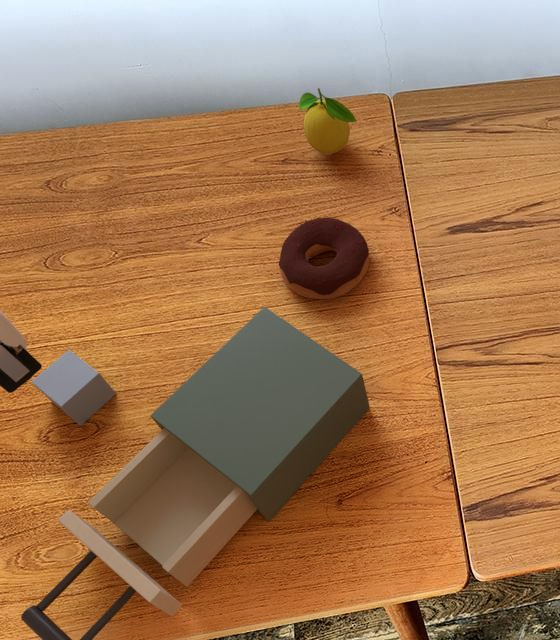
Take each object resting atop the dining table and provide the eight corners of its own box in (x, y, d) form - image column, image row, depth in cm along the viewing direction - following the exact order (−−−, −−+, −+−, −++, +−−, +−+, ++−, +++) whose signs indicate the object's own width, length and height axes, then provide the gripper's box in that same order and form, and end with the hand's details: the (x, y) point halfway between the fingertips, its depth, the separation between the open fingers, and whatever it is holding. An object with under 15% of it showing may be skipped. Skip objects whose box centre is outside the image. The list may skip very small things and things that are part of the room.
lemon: (362, 162, 95) (353, 100, 87) (317, 174, 94) (303, 113, 86) (346, 126, 99) (336, 63, 90) (302, 138, 97) (288, 75, 89)
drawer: (105, 691, 63) (76, 683, 58) (18, 606, 66) (-18, 591, 61) (281, 494, 72) (268, 473, 67) (196, 428, 75) (178, 403, 70)
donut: (299, 317, 83) (293, 297, 80) (269, 252, 88) (262, 231, 84) (384, 283, 86) (381, 262, 82) (351, 222, 90) (347, 200, 87)
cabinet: (269, 522, 71) (250, 495, 65) (176, 447, 75) (149, 415, 68) (370, 408, 78) (362, 373, 71) (279, 344, 81) (264, 306, 75)
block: (80, 426, 76) (61, 406, 72) (51, 401, 77) (30, 381, 73) (116, 393, 78) (99, 373, 74) (87, 370, 79) (69, 349, 75)
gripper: (-251, 223, 48) (-73, 358, 64) (-115, 351, 43) (40, 461, 59) (-139, 152, 51) (4, 298, 67) (-1, 265, 46) (117, 392, 62)
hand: (21, 374), depth 63 cm, fingers closed
